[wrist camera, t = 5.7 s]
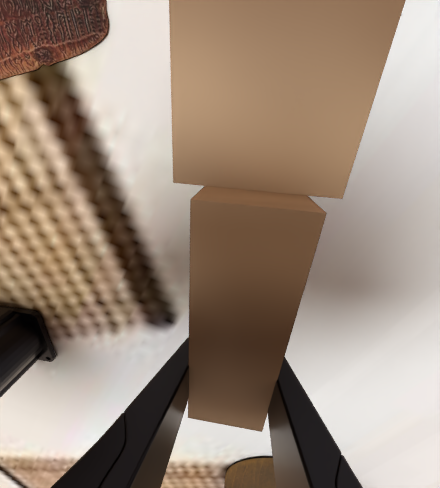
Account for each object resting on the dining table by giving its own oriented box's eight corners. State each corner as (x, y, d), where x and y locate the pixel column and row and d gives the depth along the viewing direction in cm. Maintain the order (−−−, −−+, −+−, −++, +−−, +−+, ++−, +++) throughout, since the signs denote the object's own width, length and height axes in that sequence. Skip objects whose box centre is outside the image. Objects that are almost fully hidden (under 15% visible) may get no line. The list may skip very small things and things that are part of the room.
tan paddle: (278, 365, 11) (287, 436, 8) (184, 350, 12) (164, 413, 9) (457, -262, 4) (976, -1275, 1) (183, -243, 4) (64, -935, 2)
